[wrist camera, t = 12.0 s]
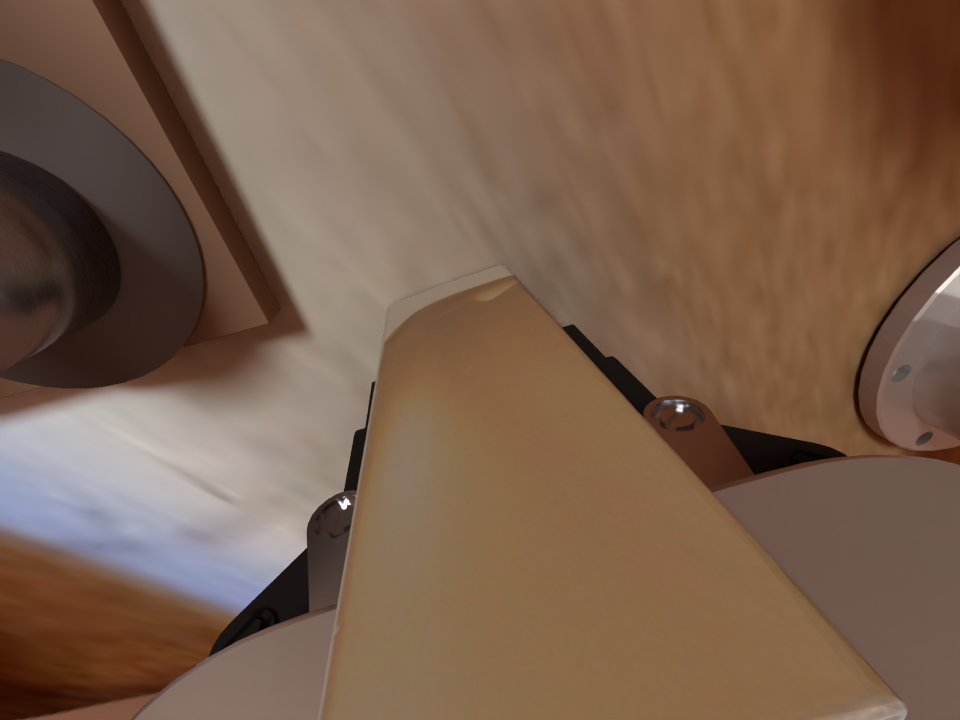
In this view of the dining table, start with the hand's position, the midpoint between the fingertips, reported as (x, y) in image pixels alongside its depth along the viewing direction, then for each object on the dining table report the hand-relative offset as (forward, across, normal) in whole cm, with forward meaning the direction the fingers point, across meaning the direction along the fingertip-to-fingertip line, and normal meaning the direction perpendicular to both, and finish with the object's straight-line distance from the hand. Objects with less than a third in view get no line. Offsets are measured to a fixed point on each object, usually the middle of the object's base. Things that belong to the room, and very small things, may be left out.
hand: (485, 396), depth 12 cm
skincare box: (+3, 0, 0) cm, 3 cm away
